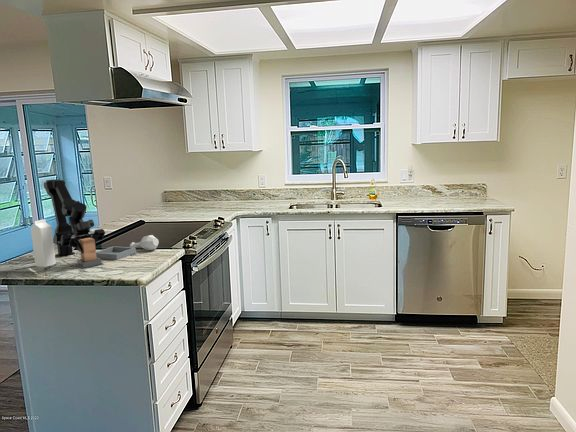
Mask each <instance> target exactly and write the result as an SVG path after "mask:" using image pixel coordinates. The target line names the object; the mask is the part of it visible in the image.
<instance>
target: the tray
mask: <svg viewBox="0 0 576 432" xmlns="http://www.w3.org/2000/svg"><path fill="white" fill-rule="evenodd" d="M135 254H136V255H137V247H135V248H134V247H130V246H116V245H115V246H109V247H107V248H104V249H101V250H98V251H96V257H97V258H100V259H101V260H111V261H114V260H115V261H118V260H121V259H124V258H126V257H129V256H130V257H133V256H136V255H135ZM132 255H133V256H132Z"/></svg>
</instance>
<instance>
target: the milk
mask: <svg viewBox="0 0 576 432" xmlns="http://www.w3.org/2000/svg"><path fill="white" fill-rule="evenodd" d="M52 229H53V228H52V225H50V224H49V223H47V221H46V218H44V219H39V220H34V225H32V226H31V227H30V235H31V242H32V251H33V257H34V263H35V264H34V265H35V266H34V267H42V268H47V267H49V266H52V265H55V264H56V263H57V262H56V254H55V244H54V242H53V239H54V236H53V230H52Z"/></svg>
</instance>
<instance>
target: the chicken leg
mask: <svg viewBox="0 0 576 432" xmlns="http://www.w3.org/2000/svg"><path fill="white" fill-rule="evenodd" d="M159 242H160V241H159V239H158V238H157V237H155V236H154V235H153V234H150V235H145V236H142V238H141V240H140V241H139V242H135V241H134V242H133V241H132V242H131V243H130V244H129V247H134V248H139V247H141V248H143V249H144V250H145V251H147V252H148V251H153V250H156V249H157V247H158V246H159Z"/></svg>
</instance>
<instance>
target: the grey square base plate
mask: <svg viewBox="0 0 576 432" xmlns="http://www.w3.org/2000/svg"><path fill="white" fill-rule="evenodd" d="M96 258H97V257H96ZM76 263H77V264H74V266H75V267H77V268H79V269H81V270H84V269H89V268H95V267H97V266H103V265H105V263H103V262H102V259H100V258H97V260H92V261H87V262H83V261H82V260H81V258H79V259H76Z"/></svg>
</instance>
